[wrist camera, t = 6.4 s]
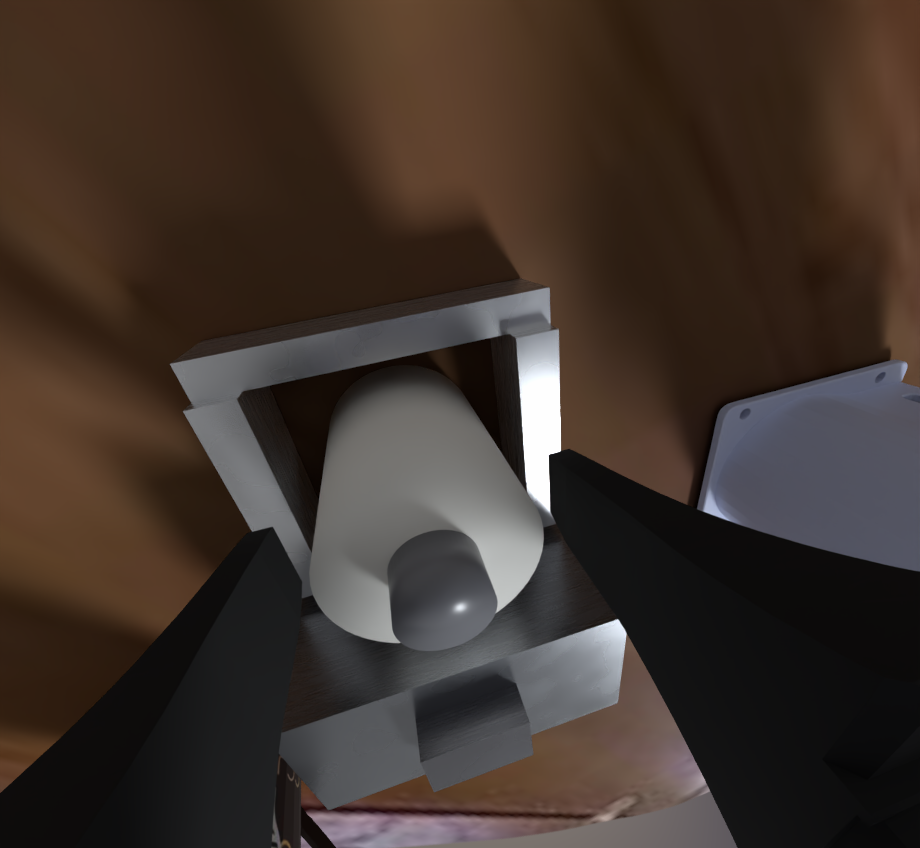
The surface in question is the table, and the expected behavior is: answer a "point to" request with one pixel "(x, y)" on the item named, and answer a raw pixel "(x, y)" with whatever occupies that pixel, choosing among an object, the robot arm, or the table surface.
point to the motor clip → (393, 664)
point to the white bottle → (418, 515)
